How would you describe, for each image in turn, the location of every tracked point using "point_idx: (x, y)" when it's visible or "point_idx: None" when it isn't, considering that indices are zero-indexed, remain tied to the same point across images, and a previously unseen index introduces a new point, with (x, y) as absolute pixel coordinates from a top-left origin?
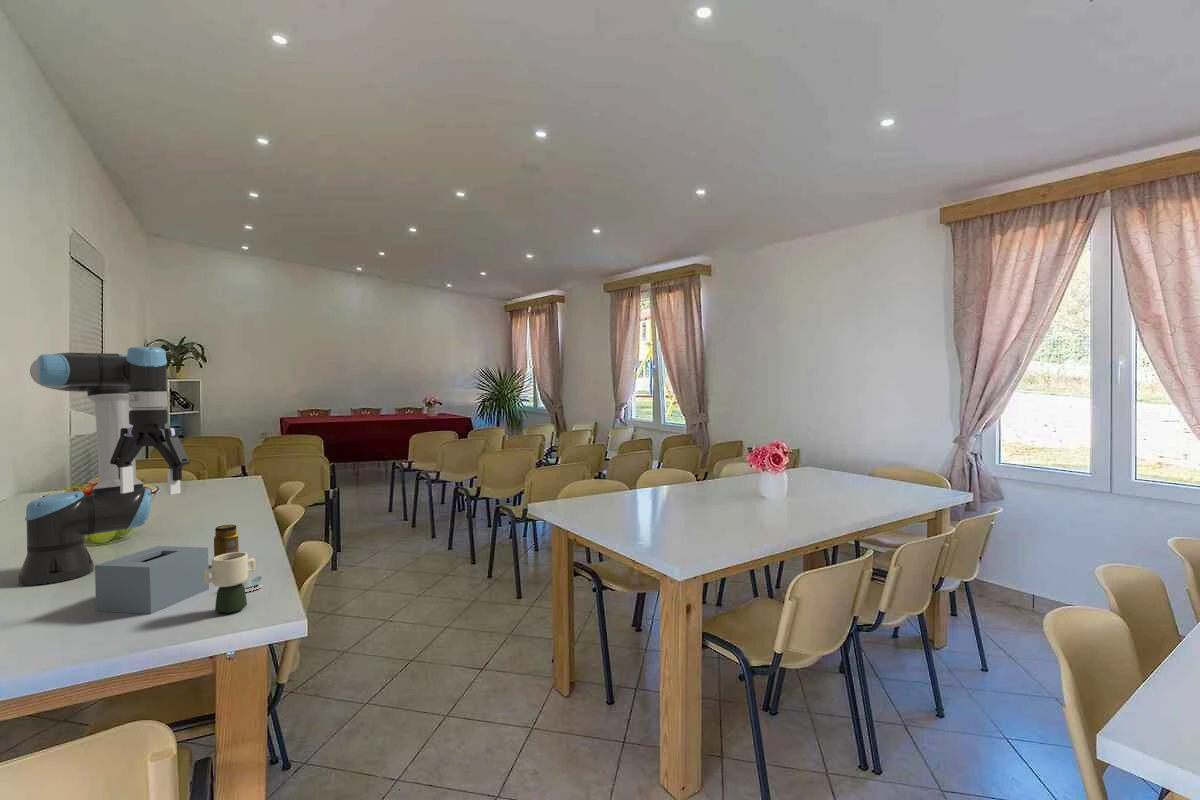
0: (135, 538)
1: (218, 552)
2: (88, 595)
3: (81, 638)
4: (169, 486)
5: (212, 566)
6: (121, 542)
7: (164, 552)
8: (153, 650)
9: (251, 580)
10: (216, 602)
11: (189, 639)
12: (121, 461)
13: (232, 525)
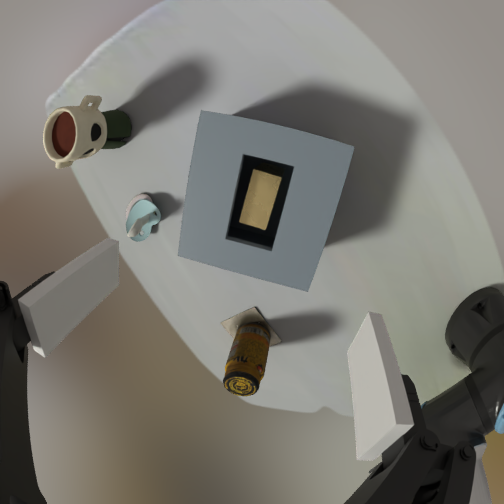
0: None
1: (251, 341)
2: (403, 229)
3: (268, 35)
4: (87, 254)
5: (81, 112)
6: None
7: (266, 248)
8: (141, 15)
9: (145, 235)
10: (117, 114)
11: (118, 44)
12: (409, 465)
13: (233, 390)
